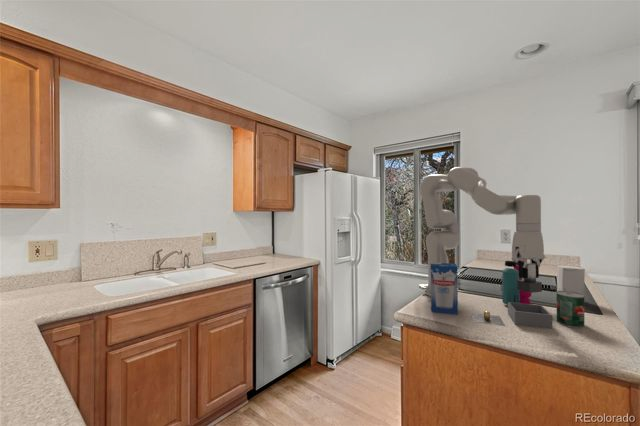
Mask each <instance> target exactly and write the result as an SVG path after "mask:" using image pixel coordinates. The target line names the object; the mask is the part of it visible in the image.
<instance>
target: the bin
mask: <svg viewBox="0 0 640 426" xmlns="http://www.w3.org/2000/svg"><path fill="white" fill-rule="evenodd" d="M507 315H508V316H509V318H510V320H511V321H512V322H513V324H514V325H515V326H522V327H532V328H540V329H541V328H542V329H548V330H550V329H551V330H553V314H552V313H551V312H550V311H549V310H547V308H545V307H544V306H543V305H542V304H533V303H530V304H523V303H513V302H508V305H507Z"/></svg>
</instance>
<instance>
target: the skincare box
mask: <svg viewBox="0 0 640 426" xmlns="http://www.w3.org/2000/svg"><path fill="white" fill-rule="evenodd" d="M556 267H557V272H556V273H557V278H556V279H557V280H556V281H557V282H556V289H557V290H556V292H557V291H570V292H576V293H580V294H582V295H584V296H585V278H586V276H585V268H583V267H580V266H572V265H561V264H560V265H559V264H558V265H557V266H556Z"/></svg>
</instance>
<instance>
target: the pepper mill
mask: <svg viewBox="0 0 640 426" xmlns="http://www.w3.org/2000/svg"><path fill="white" fill-rule="evenodd" d="M522 263H523V260H522ZM513 269H516V270H518V271H519V267H518V266H517V264H516V267H513ZM519 280H522V278H521V277H519ZM531 297H532V293H529V292H525V291H522V290H520V303H523V304H531V299H530V298H531Z"/></svg>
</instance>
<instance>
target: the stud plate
mask: <svg viewBox="0 0 640 426" xmlns="http://www.w3.org/2000/svg"><path fill="white" fill-rule="evenodd" d="M470 315H471V318H472V321H473V323H477V324H478V323H479V324H484V325H485V324H486V325H493V326H494V325H496V326H501V327H502V326H506V325H505V323H504V321H503V320H502V318H501V316H500V315H495V314H494V315H492V314H491V312H490V311H487V310H485V311H483V313H476V312H475V313H474V312H470Z"/></svg>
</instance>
